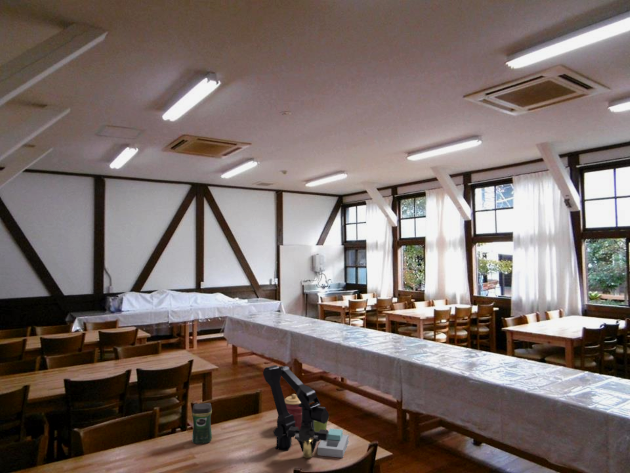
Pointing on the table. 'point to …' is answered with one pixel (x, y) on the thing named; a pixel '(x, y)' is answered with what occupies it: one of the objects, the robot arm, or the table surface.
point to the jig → (333, 447)
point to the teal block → (335, 434)
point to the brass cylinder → (307, 448)
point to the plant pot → (319, 426)
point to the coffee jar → (201, 423)
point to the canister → (294, 409)
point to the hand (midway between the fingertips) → (307, 452)
